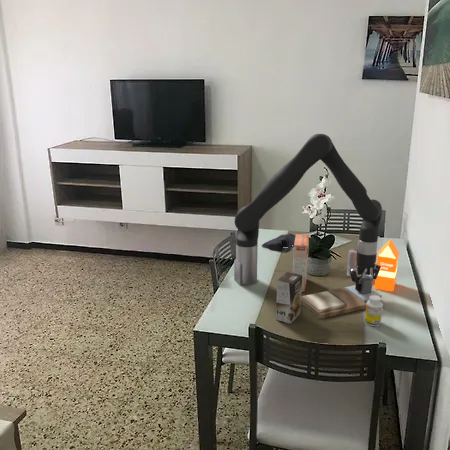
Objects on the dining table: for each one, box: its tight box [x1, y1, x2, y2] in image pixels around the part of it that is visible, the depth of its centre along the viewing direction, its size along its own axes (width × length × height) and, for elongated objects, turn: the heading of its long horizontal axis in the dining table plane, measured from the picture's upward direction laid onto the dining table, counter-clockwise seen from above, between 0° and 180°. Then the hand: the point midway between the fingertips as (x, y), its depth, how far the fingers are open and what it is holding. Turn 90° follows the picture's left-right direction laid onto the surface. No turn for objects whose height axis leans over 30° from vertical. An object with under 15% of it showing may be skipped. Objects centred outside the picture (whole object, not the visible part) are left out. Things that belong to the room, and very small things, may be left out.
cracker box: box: [292, 233, 310, 293], centre depth 200 cm, size 14×6×21 cm, turn 168°
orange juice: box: [374, 238, 400, 292], centre depth 198 cm, size 8×9×20 cm
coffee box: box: [275, 271, 302, 325], centre depth 175 cm, size 9×6×16 cm
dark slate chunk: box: [261, 233, 296, 253], centre depth 250 cm, size 15×22×5 cm
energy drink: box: [346, 248, 357, 278], centre depth 210 cm, size 5×5×12 cm
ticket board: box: [301, 286, 367, 319], centre depth 186 cm, size 22×16×3 cm
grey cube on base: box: [344, 275, 383, 302], centre depth 190 cm, size 9×12×7 cm
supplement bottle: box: [364, 295, 384, 327], centre depth 171 cm, size 6×6×10 cm
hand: (363, 290), depth 191 cm, fingers closed on grey cube on base, 4 cm apart
